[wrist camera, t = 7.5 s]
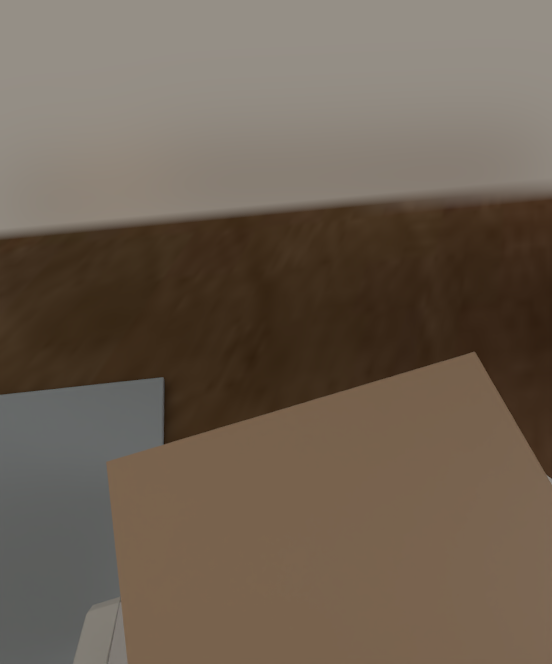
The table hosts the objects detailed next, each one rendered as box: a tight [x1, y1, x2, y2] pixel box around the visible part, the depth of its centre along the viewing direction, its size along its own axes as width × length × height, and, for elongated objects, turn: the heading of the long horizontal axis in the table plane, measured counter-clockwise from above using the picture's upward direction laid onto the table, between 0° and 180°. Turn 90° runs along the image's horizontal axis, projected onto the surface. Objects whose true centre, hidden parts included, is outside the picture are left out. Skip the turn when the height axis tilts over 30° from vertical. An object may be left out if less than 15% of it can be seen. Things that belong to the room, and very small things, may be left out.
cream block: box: [106, 352, 552, 664], centre depth 8 cm, size 4×4×8 cm
